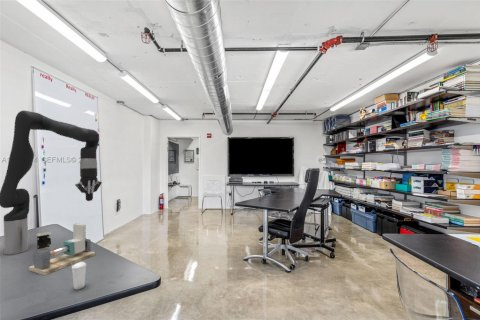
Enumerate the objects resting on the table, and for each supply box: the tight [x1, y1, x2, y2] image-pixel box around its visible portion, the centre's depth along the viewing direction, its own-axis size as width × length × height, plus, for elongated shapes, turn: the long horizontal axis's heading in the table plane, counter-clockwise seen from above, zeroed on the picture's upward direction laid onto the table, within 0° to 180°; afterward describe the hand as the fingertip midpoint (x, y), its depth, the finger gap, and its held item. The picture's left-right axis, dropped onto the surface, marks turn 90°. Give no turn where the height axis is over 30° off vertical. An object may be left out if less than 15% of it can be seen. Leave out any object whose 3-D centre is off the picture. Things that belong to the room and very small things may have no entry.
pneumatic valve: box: [35, 230, 52, 250], centre depth 121 cm, size 6×12×12 cm, turn 42°
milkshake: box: [70, 261, 87, 290], centre depth 88 cm, size 4×5×10 cm
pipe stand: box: [28, 238, 96, 276], centre depth 111 cm, size 22×12×8 cm, turn 157°
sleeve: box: [67, 223, 87, 254], centre depth 116 cm, size 5×7×13 cm
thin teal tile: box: [62, 240, 74, 256], centre depth 113 cm, size 1×6×6 cm, turn 66°
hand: (89, 200), depth 122 cm, fingers closed
